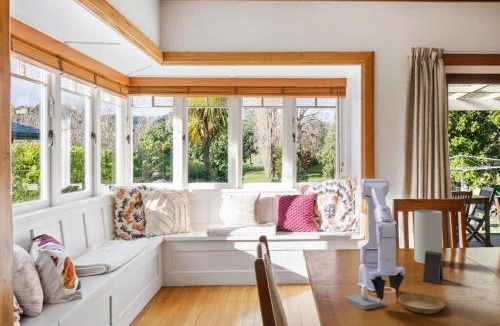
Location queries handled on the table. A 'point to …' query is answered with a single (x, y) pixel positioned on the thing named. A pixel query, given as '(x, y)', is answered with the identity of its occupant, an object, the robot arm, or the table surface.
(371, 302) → the post base
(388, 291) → the ring
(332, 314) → the table surface
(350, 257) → the table surface
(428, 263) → the phone stand
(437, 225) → the cylinder vase
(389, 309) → the table surface
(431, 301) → the plant saucer
